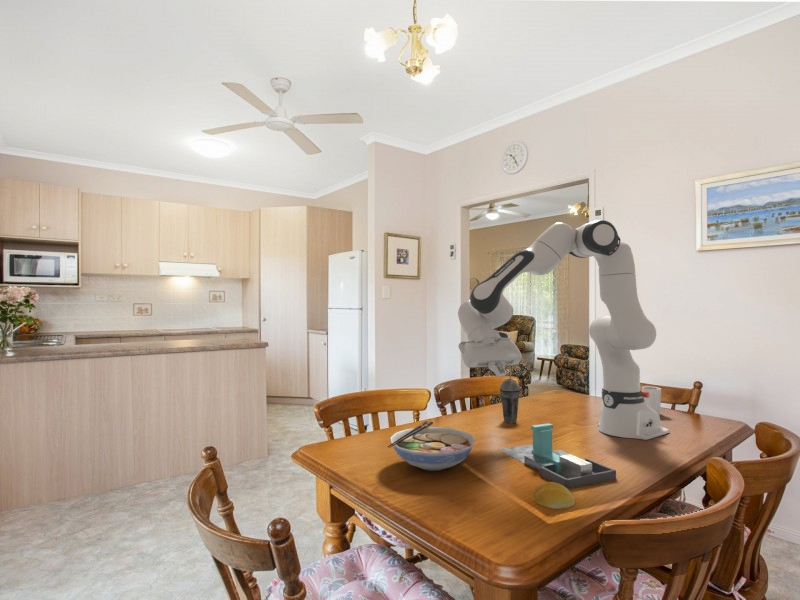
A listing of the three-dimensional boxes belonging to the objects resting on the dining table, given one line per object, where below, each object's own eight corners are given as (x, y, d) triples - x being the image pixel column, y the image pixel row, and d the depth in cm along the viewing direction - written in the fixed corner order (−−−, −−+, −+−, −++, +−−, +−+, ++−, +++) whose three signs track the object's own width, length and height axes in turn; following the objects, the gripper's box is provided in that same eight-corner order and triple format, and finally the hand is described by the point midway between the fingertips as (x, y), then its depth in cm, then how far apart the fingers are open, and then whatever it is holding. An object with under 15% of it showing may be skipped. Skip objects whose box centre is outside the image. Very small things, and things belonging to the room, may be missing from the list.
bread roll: (535, 512, 89) (535, 493, 89) (533, 494, 98) (532, 476, 98) (578, 516, 87) (578, 496, 87) (571, 497, 96) (571, 479, 96)
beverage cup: (497, 422, 158) (496, 367, 158) (504, 418, 164) (503, 365, 164) (516, 425, 154) (515, 369, 154) (523, 420, 160) (522, 366, 160)
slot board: (531, 447, 129) (531, 437, 129) (582, 470, 111) (582, 459, 111) (497, 452, 125) (497, 442, 125) (545, 478, 106) (544, 465, 106)
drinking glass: (665, 415, 166) (665, 389, 166) (648, 415, 166) (648, 389, 166) (655, 411, 173) (654, 386, 173) (638, 411, 172) (638, 386, 173)
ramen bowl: (455, 492, 98) (454, 456, 98) (371, 474, 110) (370, 442, 110) (488, 458, 120) (488, 429, 120) (415, 446, 131) (415, 419, 131)
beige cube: (570, 470, 109) (570, 454, 109) (581, 475, 105) (580, 458, 105) (559, 472, 107) (559, 456, 107) (569, 477, 104) (569, 460, 104)
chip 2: (581, 475, 105) (580, 458, 105) (592, 480, 102) (592, 463, 102) (569, 477, 104) (569, 460, 104) (580, 482, 101) (580, 465, 101)
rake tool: (546, 456, 118) (546, 422, 118) (573, 469, 109) (573, 431, 109) (528, 459, 116) (528, 424, 116) (554, 473, 107) (554, 434, 107)
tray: (587, 470, 111) (586, 458, 111) (616, 483, 103) (615, 470, 103) (540, 478, 106) (539, 466, 106) (566, 493, 97) (566, 480, 97)
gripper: (460, 335, 137) (477, 370, 127) (513, 334, 144) (532, 367, 135) (453, 348, 141) (469, 383, 131) (505, 346, 148) (523, 379, 139)
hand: (501, 375), depth 133 cm, fingers closed
